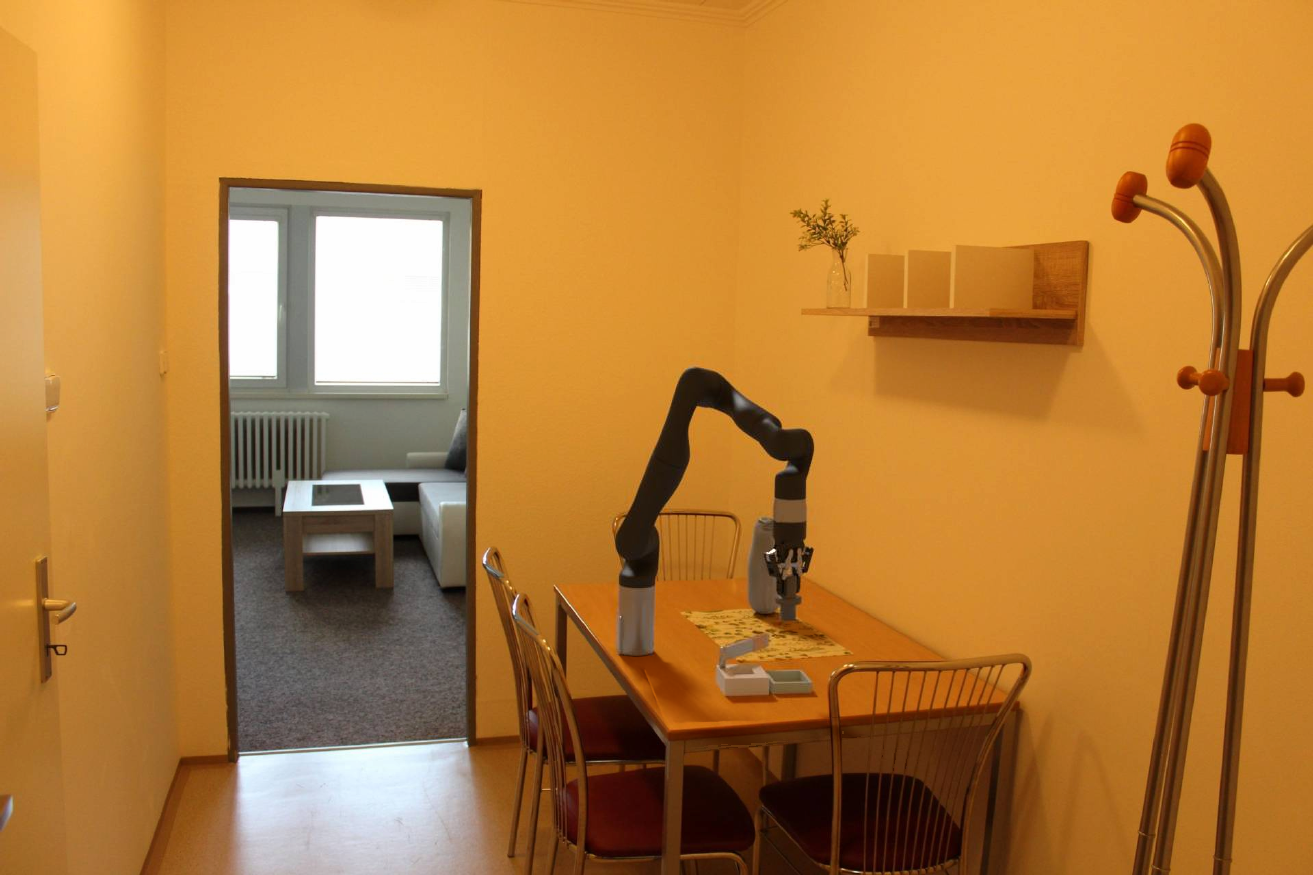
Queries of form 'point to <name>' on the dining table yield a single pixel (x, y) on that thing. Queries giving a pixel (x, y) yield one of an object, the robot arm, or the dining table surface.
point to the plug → (789, 599)
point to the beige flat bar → (742, 648)
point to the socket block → (742, 680)
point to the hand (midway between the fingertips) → (788, 593)
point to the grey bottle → (761, 569)
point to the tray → (789, 682)
